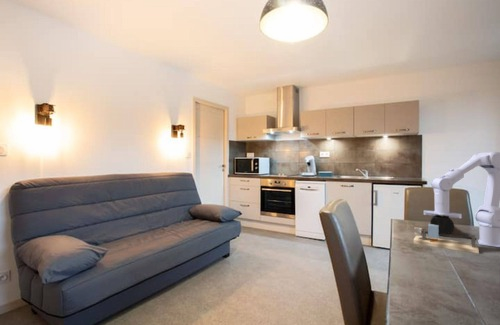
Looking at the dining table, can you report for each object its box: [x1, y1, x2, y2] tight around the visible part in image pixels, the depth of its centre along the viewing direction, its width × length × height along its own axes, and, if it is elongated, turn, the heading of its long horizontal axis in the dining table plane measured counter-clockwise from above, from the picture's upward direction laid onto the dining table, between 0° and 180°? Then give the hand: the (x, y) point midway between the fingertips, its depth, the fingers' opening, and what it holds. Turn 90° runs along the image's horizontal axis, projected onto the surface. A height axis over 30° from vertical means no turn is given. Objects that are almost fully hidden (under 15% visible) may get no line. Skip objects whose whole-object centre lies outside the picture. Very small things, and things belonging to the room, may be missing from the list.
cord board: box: [412, 226, 480, 254], centre depth 122 cm, size 24×10×6 cm, turn 52°
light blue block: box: [427, 223, 440, 239], centre depth 125 cm, size 4×4×6 cm
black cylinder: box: [429, 214, 455, 234], centre depth 151 cm, size 10×34×10 cm, turn 145°
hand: (442, 231), depth 123 cm, fingers closed
